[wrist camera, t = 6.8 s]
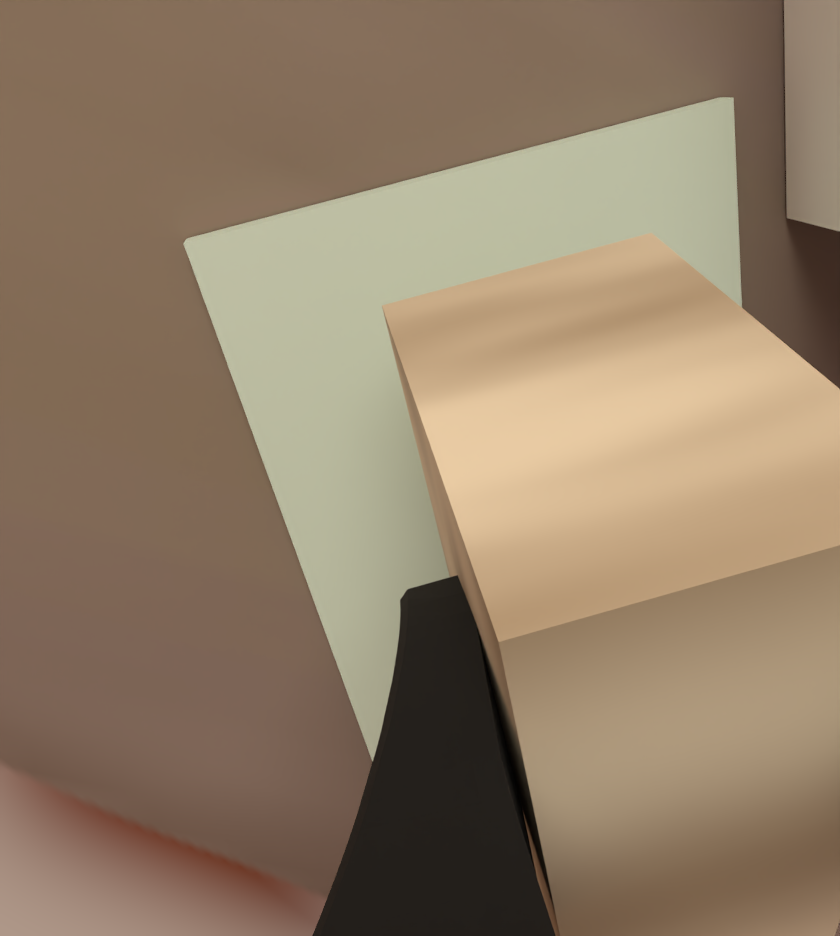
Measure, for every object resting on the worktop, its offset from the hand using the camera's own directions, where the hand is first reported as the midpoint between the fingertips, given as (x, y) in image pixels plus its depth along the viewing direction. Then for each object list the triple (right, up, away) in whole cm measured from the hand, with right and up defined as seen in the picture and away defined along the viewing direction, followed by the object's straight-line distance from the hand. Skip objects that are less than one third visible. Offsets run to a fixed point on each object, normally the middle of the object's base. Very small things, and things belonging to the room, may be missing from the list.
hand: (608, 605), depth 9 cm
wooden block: (0, 0, +3) cm, 3 cm away
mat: (0, +1, +5) cm, 5 cm away
